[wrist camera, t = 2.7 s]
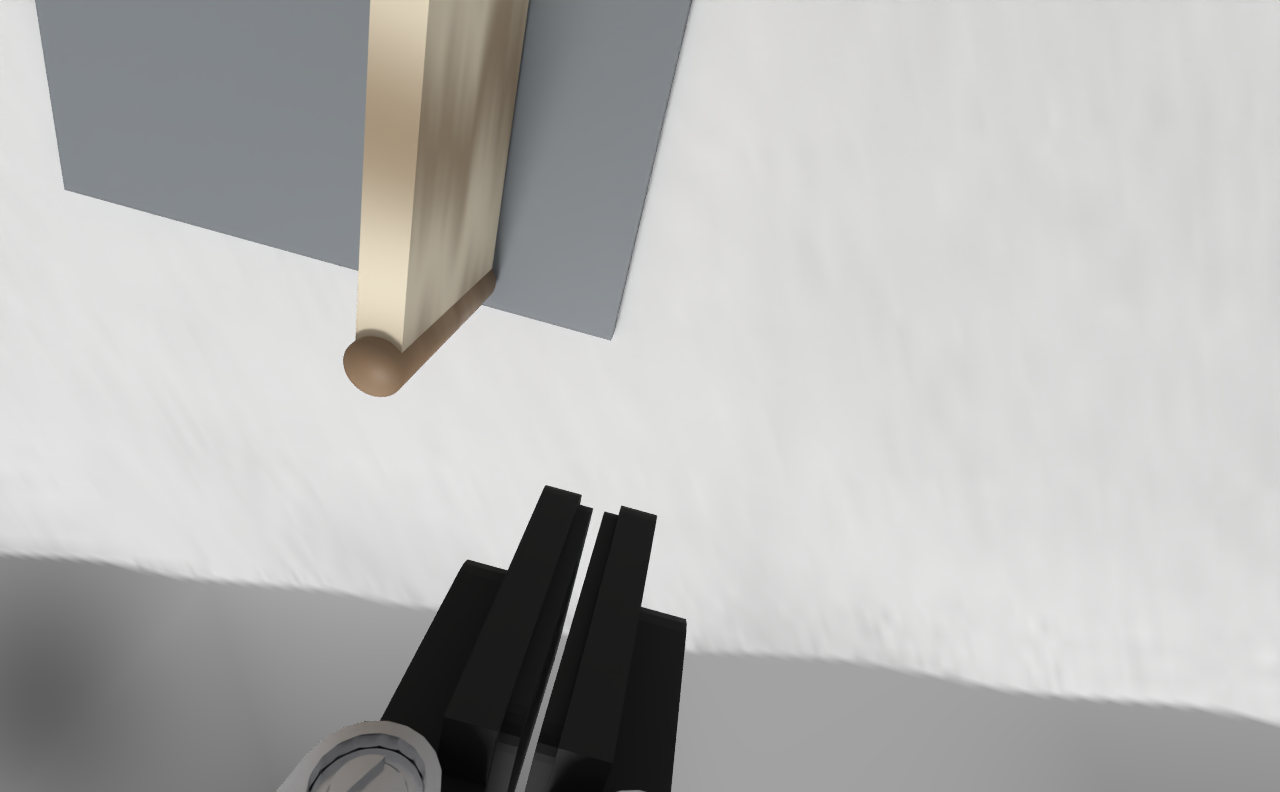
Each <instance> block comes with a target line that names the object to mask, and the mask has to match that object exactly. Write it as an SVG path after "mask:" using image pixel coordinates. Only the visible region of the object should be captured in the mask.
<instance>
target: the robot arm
mask: <svg viewBox="0 0 1280 792" xmlns="http://www.w3.org/2000/svg"><path fill="white" fill-rule="evenodd" d="M581 497H582V495H580V494H577V493H573V492H569V491H566V490H562V489H558V488H555V487H551V486H547V485H546V486H545V487H544V489H543V491H542V494H541V496H540V498H539V500H538V503H537V505H536V507H535V510H534V512H533V514H532V516H531V519H530V521H529V523H528V525H527V528H526V530H525V532H524V535H523V537H522V539H521V541H520V544H519V546H518V548H517V551H516V553H515V555H514V557H513V560H512V562H511V564H510V566H509V569H508V570H504V569H500V568H497V567H493V566H489V565H486V564H482V563H478V562H475V561H471V560H467V561H466V562H465V563H464V564H463V566H462V567H461V569H460V571H459V572H458V574H457V576H456V578H455V580H454V582H453V584H452V586H451V588H450V589H449V591H448V593H447V595H446V597H445V599H444V601H443V603H442V605H441V606H440V608H439V610H438V612H437V614H436V616H435V618H434V620H433V622H432V624H431V625H430V627H429V629H428V631H427V633H426V635H425V637H424V639H423V640H422V642H421V644H420V646H419V648H418V650H417V652H416V654H415V656H414V658H413V659H412V662H411V663H410V665H409V667H408V669H407V671H406V673H405V675H404V677H403V678H402V681H401V682H400V684H399V686H398V688H397V690H396V692H395V694H394V695H393V697H392V699H391V701H390V703H389V705H388V707H387V709H386V711H385V713H384V714H383V716H382V718H381V720H380V721H364V722H361V723H357V724H354V725H350V726H346V727H343V728H341V729H339V730H338V731H336V732H334V733H332V734H331V735H329V736H327V737H325V738H323V739H322V740H321V741H320V742H319V743H318V744H317V745H316V746H315V747H314V748H313V749H312V750H311V751H310V752H308V753H307V754H306V755H305V757H304V758H303V759H302V760H301V761H300V763H299V764H298V765H297V766H296V768H295V769H294V770H293V771H292V773H291V774H290V775H289V776H288V778H287V779H286V780H285V781H284V783H283V784H282V785H281V786H280V787H279V789H278V790H277V791H276V792H515V789H516V785H517V782H518V779H519V775H520V772H521V769H522V766H523V762H524V759H525V756H526V752H527V749H528V746H529V742H530V739H531V736H532V732H533V729H534V725H535V723H536V719H537V716H538V713H539V709H540V705H541V703H542V699H543V696H544V693H545V689H546V686H547V683H548V679H549V676H550V673H551V669H552V666H553V663H554V660H555V656H556V653H557V649H558V645H559V642H560V638H561V634H562V630H563V626H564V622H565V618H566V614H567V610H568V606H569V602H570V598H571V595H572V591H573V587H574V583H575V579H576V575H577V571H578V567H579V563H580V559H581V555H582V551H583V547H584V543H585V539H586V535H587V531H588V527H589V523H590V519H591V515H592V511H593V508H590V507H586V506H582V505H580V502H581ZM656 519H657V515H654V514H650V513H646V512H643V511H639V510H635V509H632V508H628V507H624V506H621V509H620V512H619V515H616V514H612V513H608V512H604V515H603V518H602V522H601V525H600V529H599V532H598V536H597V539H596V542H595V546H594V549H593V553H592V556H591V560H590V563H589V566H588V570H587V573H586V577H585V580H584V584H583V587H582V590H581V594H580V597H579V601H578V604H577V608H576V611H575V614H574V618H573V621H572V625H571V628H570V632H569V635H568V638H567V642H566V645H565V649H564V653H563V656H562V659H561V663H560V666H559V669H558V673H557V676H556V680H555V683H554V687H553V690H552V694H551V697H550V700H549V704H548V707H547V711H546V714H545V718H544V721H543V725H542V728H541V732H540V736H539V739H538V743H537V746H536V750H535V754H534V757H533V761H532V765H531V769H530V773H529V777H528V781H527V785H526V789H525V792H671V784H672V774H673V763H674V753H675V743H676V733H677V723H678V712H679V702H680V692H681V681H682V671H683V660H684V650H685V640H686V626H687V623H686V619H683V618H680V617H676V616H672V615H669V614H665V613H661V612H658V611H654V610H650V609H647V608H643V607H641V603H642V598H643V592H644V586H645V581H646V575H647V570H648V564H649V559H650V553H651V548H652V542H653V536H654V531H655V525H656Z"/></svg>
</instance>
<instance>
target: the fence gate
mask: <svg viewBox="0 0 1280 792" xmlns="http://www.w3.org/2000/svg"><path fill="white" fill-rule="evenodd" d="M528 4H529V0H370V19H369V42H368V65H367V88H366V112H365V135H364V158H363V181H362V204H361V227H360V250H359V273H358V296H357V319H356V341H354V342H353V343H352V344H351V345H350V346H349V347H348V348H347V349H346V351H345V354H344V358H343V364H344V369H345V372H346V374H347V376H348V378H349V379H350V381H351V382H352V383H353V384H354V385H355V386H356V387H357V388H358V389H360V390H361V391H363V392H364V393H366V394H369V395H372V396H376V397H386V396H390V395H392V394H394V393H396V392H397V391H398V390H399V389H400V388H401V387H402V386H403V385H404V384H405V383H406V382H407V381H408V380H409V379H410V378H411V377H412V376H413V375H414V374H415V373H416V372H417V371H418V370H419V369H420V367H421V366H422V365H423V364H424V363H425V362H426V361H427V360H428V359H429V358H430V357H431V356H432V355H433V354H434V353H435V352H436V351H437V350H438V349H439V348H440V347H441V346H442V345H443V344H444V343H445V342H446V341H447V340H448V339H449V338H450V337H451V336H452V335H453V334H454V332H455V331H456V330H457V329H458V328H459V327H460V326H461V325H462V324H463V323H464V322H465V321H466V320H467V319H468V318H469V317H470V316H471V315H472V314H473V313H474V312H475V311H476V310H477V309H478V308H479V307H480V306H481V305H482V304H483V303H484V302H485V301H486V300H487V298H488V297H489V296H490V295H491V294H492V293H493V291H494V289H495V286H496V278H495V274H494V271H493V269H492V265H493V258H494V251H495V243H496V236H497V229H498V222H499V214H500V207H501V200H502V193H503V185H504V178H505V171H506V164H507V156H508V149H509V142H510V135H511V127H512V120H513V113H514V105H515V98H516V91H517V84H518V76H519V69H520V62H521V55H522V47H523V40H524V33H525V26H526V18H527V11H528Z"/></svg>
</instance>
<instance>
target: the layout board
mask: <svg viewBox="0 0 1280 792" xmlns="http://www.w3.org/2000/svg"><path fill="white" fill-rule="evenodd" d="M691 2H692V0H529V4H528V11H527V18H526V26H525V33H524V40H523V47H522V55H521V62H520V69H519V76H518V84H517V91H516V98H515V105H514V113H513V120H512V127H511V135H510V142H509V149H508V156H507V164H506V171H505V178H504V185H503V193H502V200H501V207H500V214H499V222H498V229H497V236H496V243H495V251H494V258H493V265H492V269H493V271H494V274H495V278H496V286H495V289H494V291H493V293H492V294H491V295H490V296H489V297H488V298H487V300H486V301H485V302H484V303H483V304H482V305H484V306H488V307H491V308H495V309H499V310H502V311H506V312H509V313H513V314H517V315H520V316H524V317H528V318H531V319H535V320H538V321H542V322H546V323H549V324H553V325H557V326H560V327H564V328H567V329H571V330H575V331H578V332H582V333H585V334H589V335H593V336H596V337H600V338H604V339H607V340H611V339H612V337H613V334H614V330H615V326H616V321H617V317H618V313H619V309H620V304H621V300H622V296H623V292H624V287H625V283H626V279H627V275H628V270H629V266H630V262H631V257H632V253H633V249H634V245H635V240H636V236H637V232H638V228H639V223H640V219H641V215H642V211H643V206H644V202H645V198H646V193H647V189H648V185H649V181H650V176H651V172H652V168H653V164H654V159H655V155H656V151H657V147H658V142H659V138H660V134H661V130H662V125H663V121H664V117H665V112H666V108H667V104H668V100H669V95H670V91H671V87H672V83H673V78H674V74H675V70H676V66H677V61H678V57H679V53H680V48H681V44H682V40H683V36H684V31H685V27H686V23H687V19H688V14H689V10H690V6H691ZM35 3H36V9H37V16H38V22H39V28H40V35H41V41H42V48H43V54H44V60H45V67H46V73H47V80H48V86H49V92H50V99H51V105H52V112H53V118H54V125H55V131H56V137H57V144H58V150H59V157H60V163H61V169H62V176H63V182H64V189H65V190H68V191H72V192H75V193H79V194H82V195H86V196H90V197H93V198H97V199H101V200H104V201H108V202H111V203H115V204H119V205H122V206H126V207H130V208H133V209H137V210H140V211H144V212H148V213H151V214H155V215H158V216H162V217H166V218H169V219H173V220H177V221H180V222H184V223H187V224H191V225H195V226H198V227H202V228H205V229H209V230H213V231H216V232H220V233H224V234H227V235H231V236H234V237H238V238H242V239H245V240H249V241H253V242H256V243H260V244H263V245H267V246H271V247H274V248H278V249H281V250H285V251H289V252H292V253H296V254H300V255H303V256H307V257H310V258H314V259H318V260H321V261H325V262H329V263H332V264H336V265H339V266H343V267H347V268H350V269H354V270H357V271H359V250H360V227H361V204H362V181H363V158H364V135H365V112H366V88H367V65H368V42H369V19H370V0H35Z"/></svg>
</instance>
